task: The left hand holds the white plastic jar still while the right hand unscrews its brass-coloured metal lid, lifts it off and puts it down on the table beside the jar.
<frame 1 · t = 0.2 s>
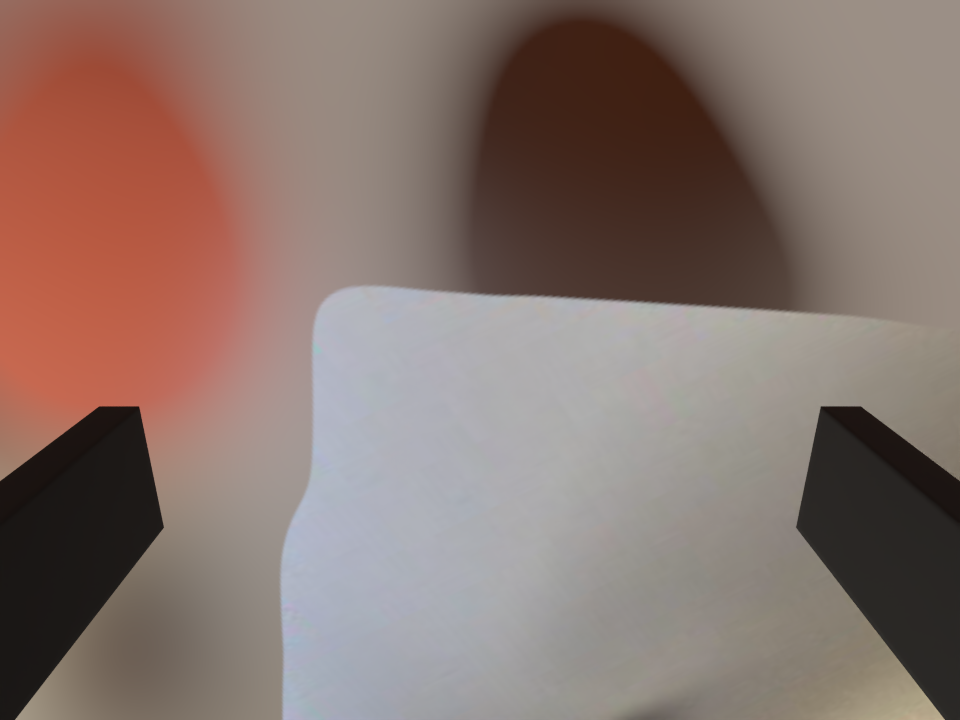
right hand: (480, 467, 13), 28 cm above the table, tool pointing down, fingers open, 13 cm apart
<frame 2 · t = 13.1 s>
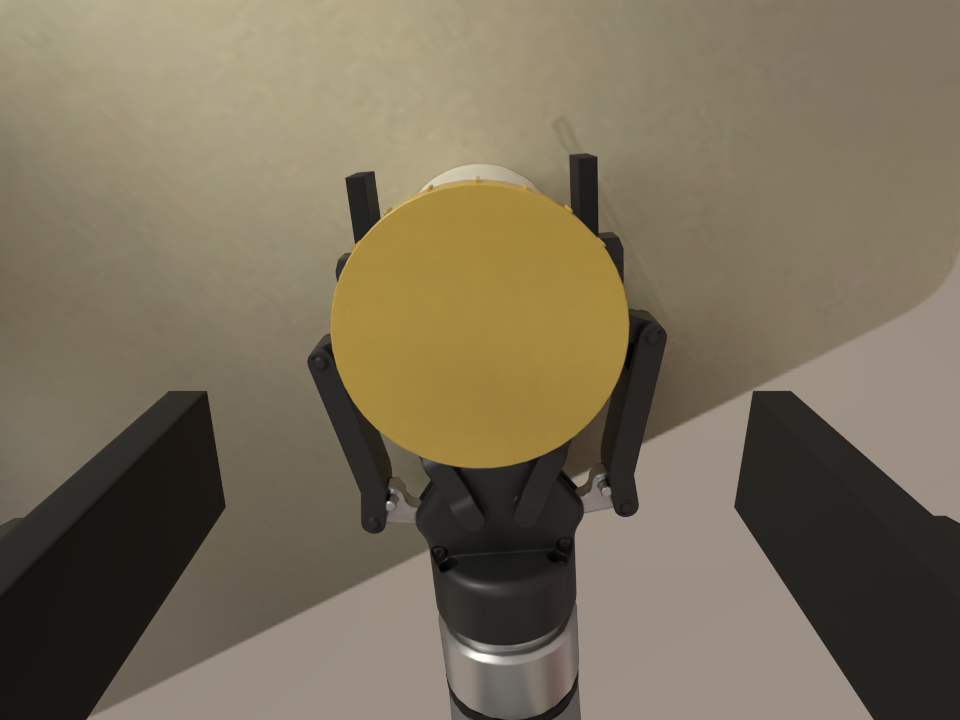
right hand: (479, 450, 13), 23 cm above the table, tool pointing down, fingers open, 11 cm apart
left hand: (470, 165, 27), fingers closed on jar, 9 cm apart
lid: (479, 334, 21), point 15 cm above the table, screwed on, not yet turned
jar: (479, 247, 34), on the table, touching left hand
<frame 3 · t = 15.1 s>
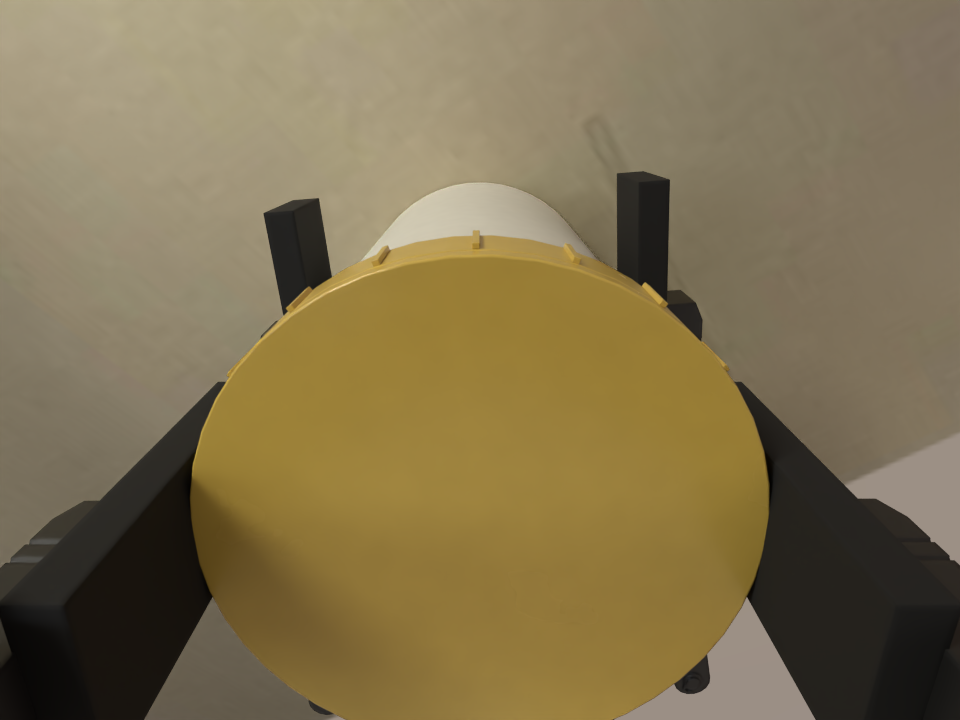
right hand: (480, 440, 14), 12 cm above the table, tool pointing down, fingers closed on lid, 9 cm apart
lid: (479, 527, 11), point 15 cm above the table, screwed on, not yet turned, touching right hand
jar: (479, 297, 25), on the table, touching left hand
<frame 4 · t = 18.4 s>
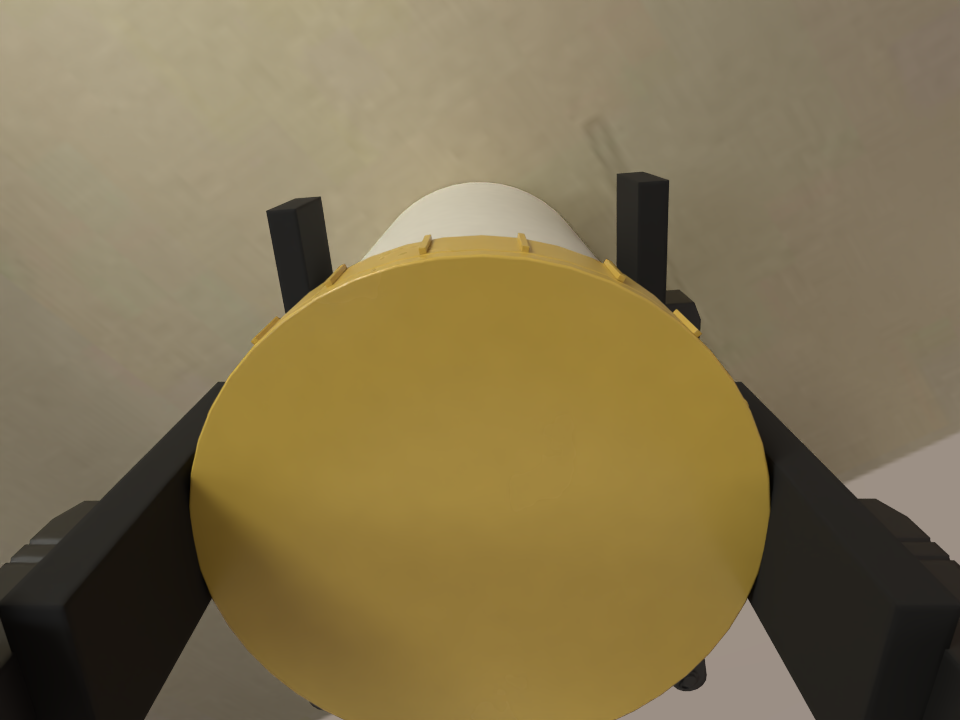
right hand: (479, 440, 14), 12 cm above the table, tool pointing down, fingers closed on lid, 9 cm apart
lid: (479, 528, 11), point 15 cm above the table, turned 100° so far, risen 0.2 cm, still on its thread, touching right hand
jar: (479, 296, 25), on the table, touching left hand
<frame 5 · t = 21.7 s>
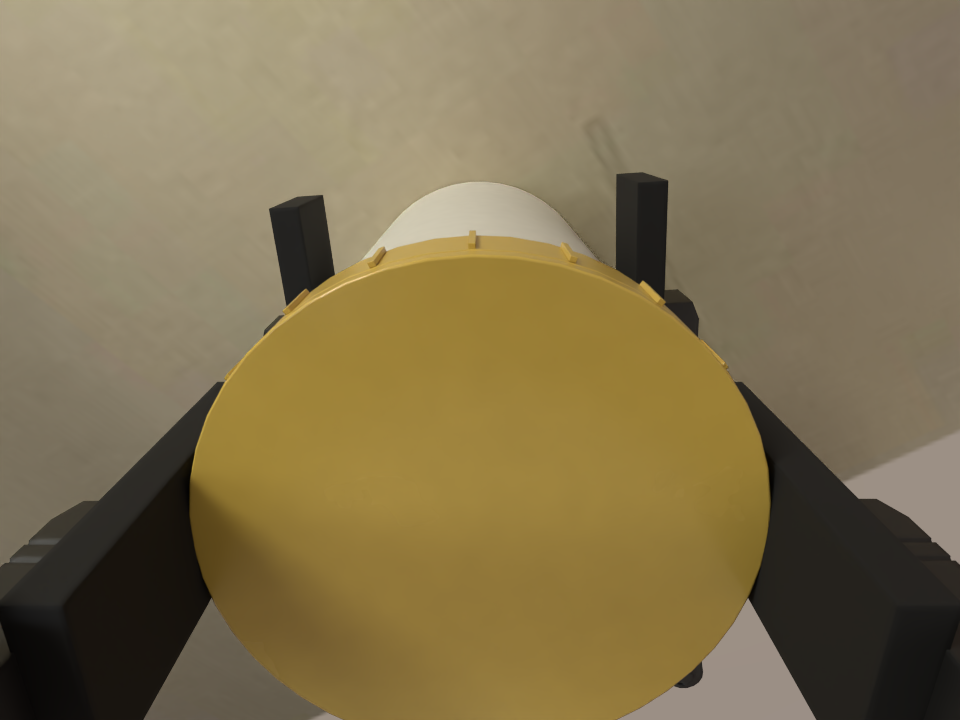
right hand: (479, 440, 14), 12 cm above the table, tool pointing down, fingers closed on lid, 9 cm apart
lid: (479, 528, 11), point 15 cm above the table, turned 199° so far, risen 0.3 cm, still on its thread, touching right hand
jar: (479, 295, 25), on the table, touching left hand
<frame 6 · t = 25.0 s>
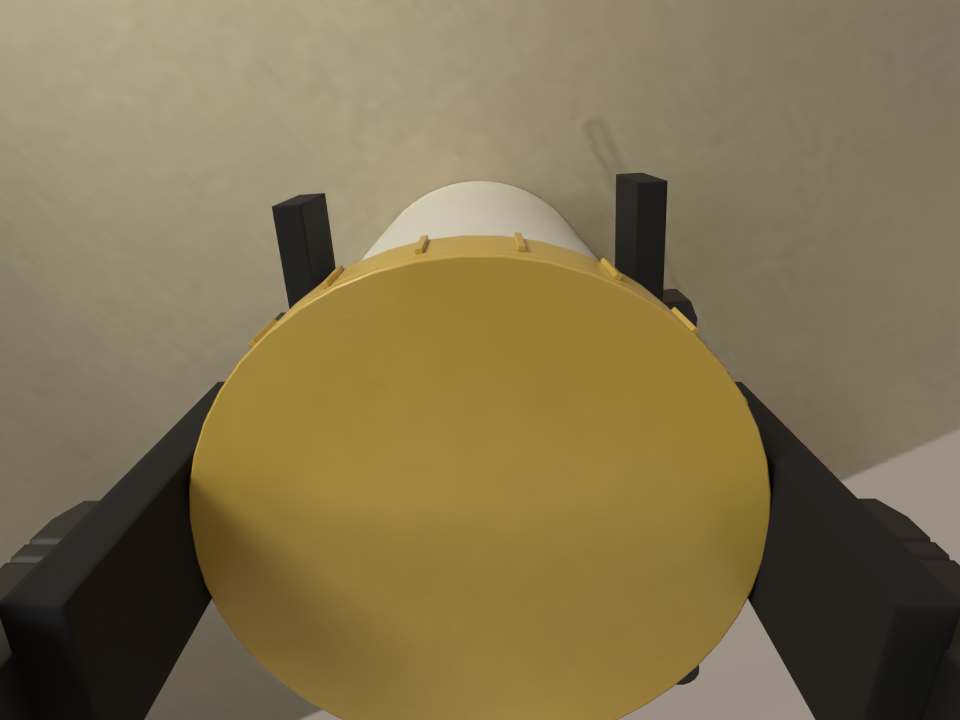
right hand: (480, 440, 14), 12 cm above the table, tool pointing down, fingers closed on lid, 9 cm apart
lid: (480, 528, 11), point 15 cm above the table, turned 299° so far, risen 0.5 cm, still on its thread, touching right hand
jar: (479, 293, 25), on the table, touching left hand
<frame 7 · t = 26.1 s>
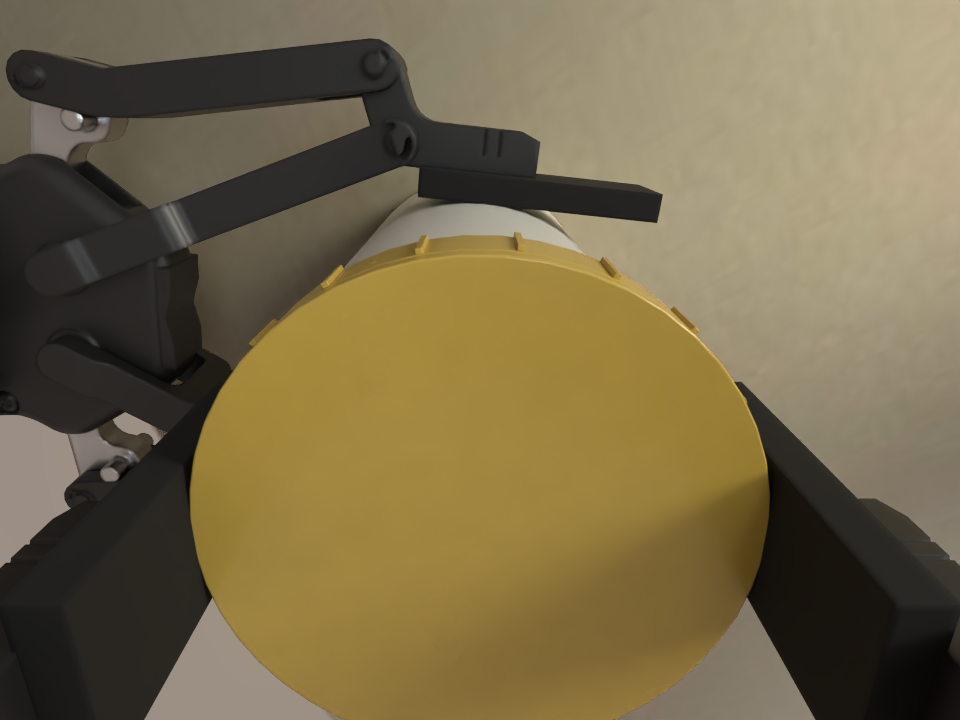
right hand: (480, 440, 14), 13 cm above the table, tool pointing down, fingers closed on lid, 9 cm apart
left hand: (617, 353, 20), fingers closed on jar, 9 cm apart
lid: (479, 527, 11), point 16 cm above the table, off its thread, touching right hand
jar: (471, 288, 26), on the table, touching left hand
when the right hand's fingers open (0 cm above the table, at t = 31.2 s): lid drops 2 cm, point 1 cm above the table.
when the left hand's fingers open (6 cm above the table, at t = 33.0 s): jar stays where it is, on the table.
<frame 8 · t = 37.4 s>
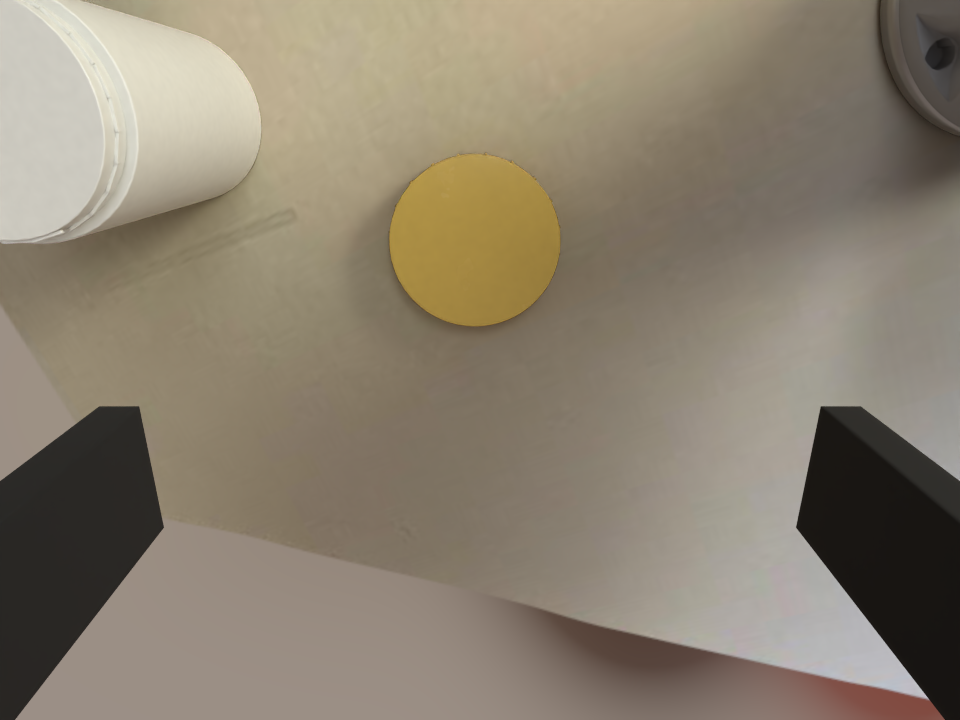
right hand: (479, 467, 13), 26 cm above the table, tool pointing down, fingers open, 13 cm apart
lid: (474, 243, 35), point 1 cm above the table, off its thread
jar: (181, 118, 34), on the table
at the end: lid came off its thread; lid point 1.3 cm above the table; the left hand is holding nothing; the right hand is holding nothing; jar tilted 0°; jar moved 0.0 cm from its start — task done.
